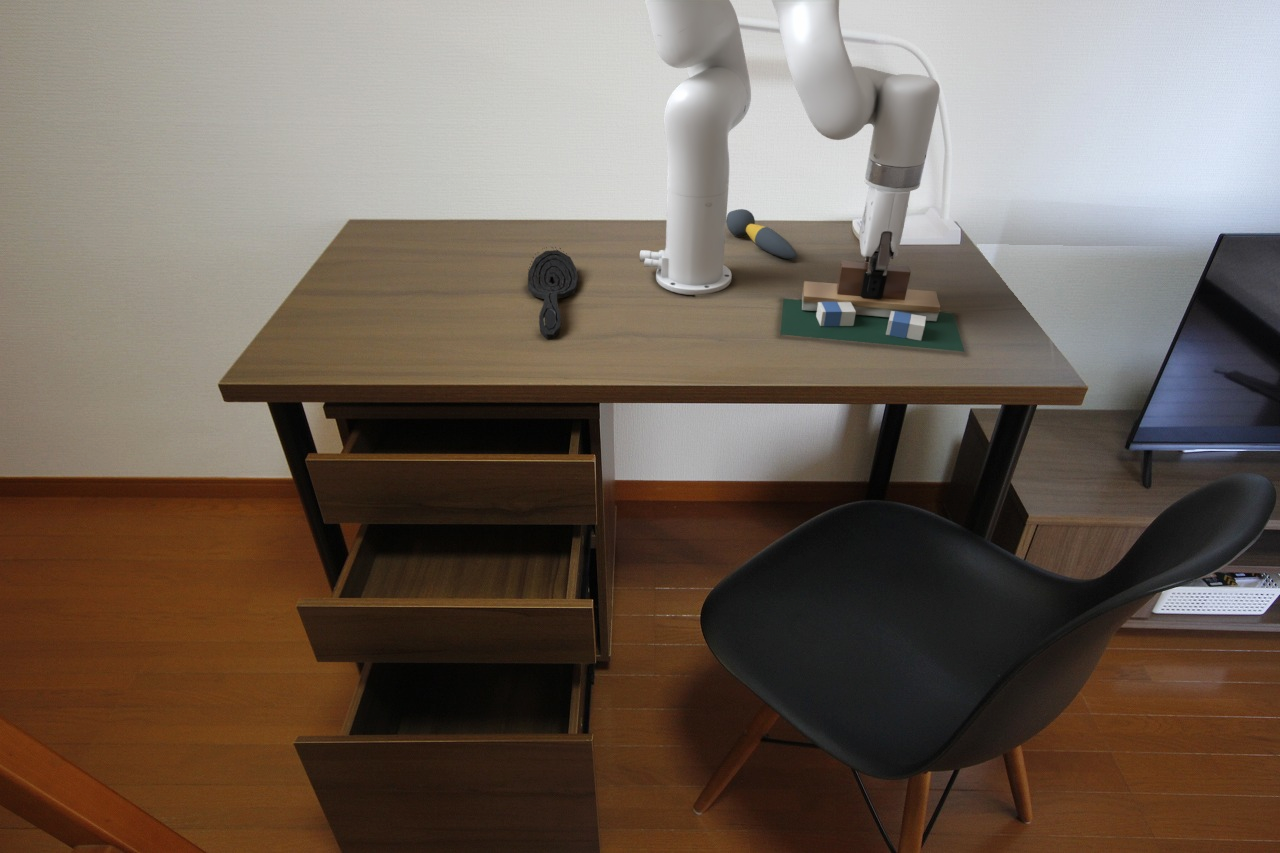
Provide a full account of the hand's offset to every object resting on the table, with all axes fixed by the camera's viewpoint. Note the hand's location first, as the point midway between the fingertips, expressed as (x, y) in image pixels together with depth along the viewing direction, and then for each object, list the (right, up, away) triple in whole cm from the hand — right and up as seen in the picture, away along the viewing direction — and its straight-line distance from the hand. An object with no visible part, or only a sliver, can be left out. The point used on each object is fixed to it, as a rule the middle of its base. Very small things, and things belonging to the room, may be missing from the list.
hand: (870, 292), depth 119 cm
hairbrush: (-49, -1, +5) cm, 49 cm away
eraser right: (+4, -7, -4) cm, 9 cm away
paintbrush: (-13, +13, +24) cm, 30 cm away
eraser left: (-6, -5, -1) cm, 8 cm away
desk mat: (-1, -5, -2) cm, 6 cm away
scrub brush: (0, -2, +2) cm, 3 cm away
